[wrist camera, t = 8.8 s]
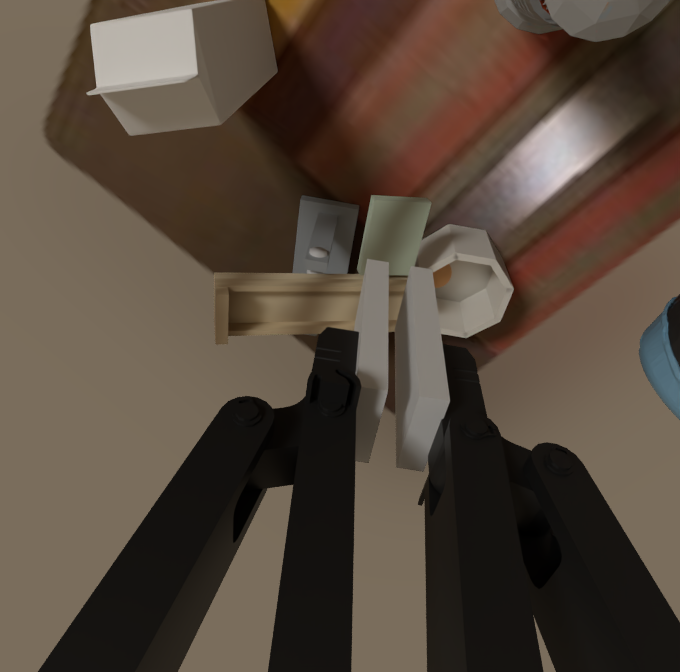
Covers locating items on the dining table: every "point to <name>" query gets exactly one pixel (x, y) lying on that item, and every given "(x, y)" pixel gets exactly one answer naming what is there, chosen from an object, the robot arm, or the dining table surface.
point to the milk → (183, 64)
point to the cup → (467, 279)
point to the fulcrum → (324, 236)
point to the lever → (323, 281)
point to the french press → (581, 16)
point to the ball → (442, 276)
